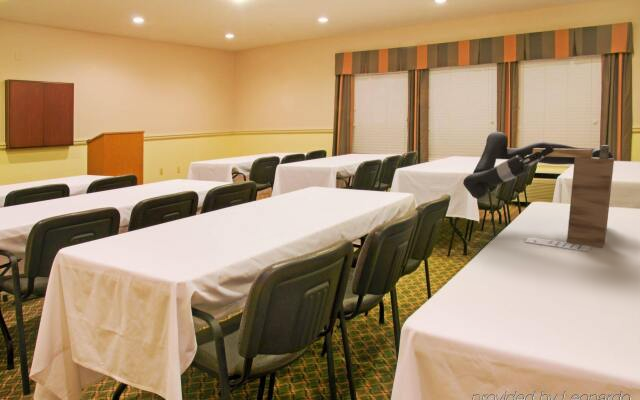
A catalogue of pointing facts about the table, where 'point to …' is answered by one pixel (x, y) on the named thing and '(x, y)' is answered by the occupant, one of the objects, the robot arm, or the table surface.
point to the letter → (558, 244)
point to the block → (567, 152)
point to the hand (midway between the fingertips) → (553, 148)
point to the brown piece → (590, 199)
